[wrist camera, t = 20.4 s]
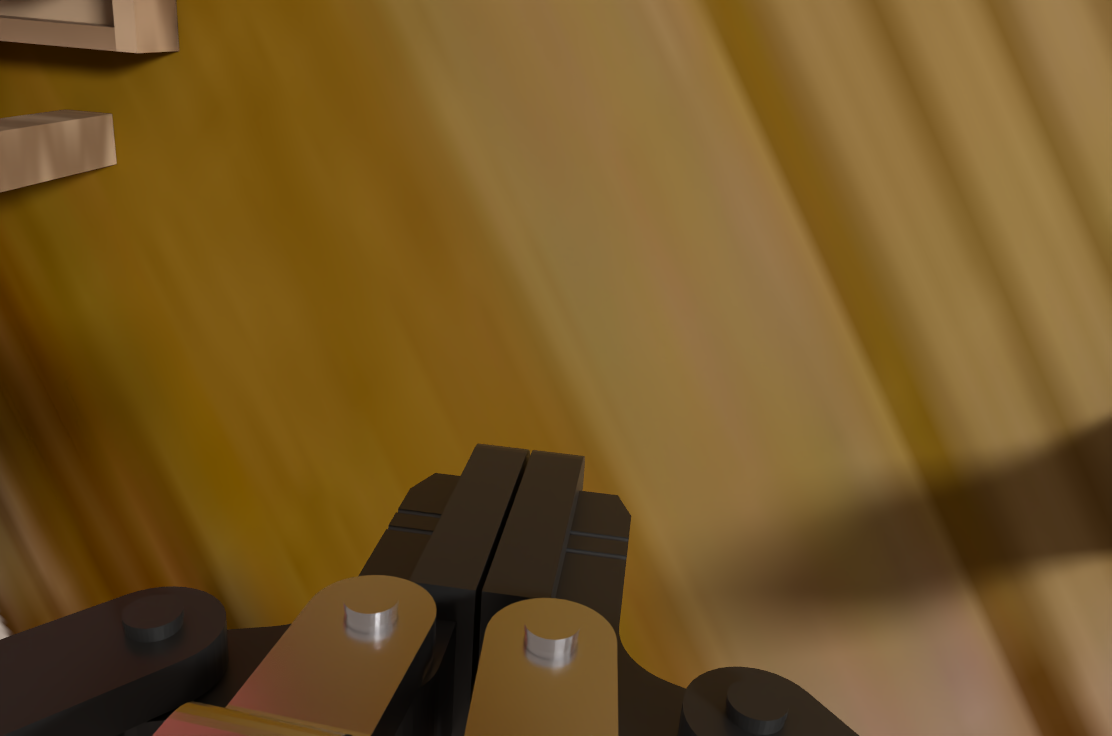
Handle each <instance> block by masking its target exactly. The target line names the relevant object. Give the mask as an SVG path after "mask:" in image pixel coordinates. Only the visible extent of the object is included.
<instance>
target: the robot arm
mask: <svg viewBox="0 0 1112 736" xmlns="http://www.w3.org/2000/svg"><path fill="white" fill-rule="evenodd" d="M584 464H585V457H584V456H578V455H570V454H562V453H553V452H545V451H537V450H533V451H532V453H531V455H530V451H529V450H527V449H519V448H510V447H502V446H494V445H485V444H477V445H476V447H475V448H474V450H473V453H472V455H471V457H470V459H469V461H468V463H467V465H466V467H465V469H464V471H463V473H462V475H461V476H455V475H447V474H439V473H435V474H433V475H431V476H430V477H428V478H427V479H425V480H423V481H422V482H420V483H419V484H417V485H415V486H414V487H412V488H410V490H409V492H408V493H407V495H406V497H405V498H404V500H403V502H402V504H401V505H400V507H399V509H398V513H396V514H395V515H394V517H393V519H392V520H391V522H390V524H389V528H388V529H386V531H385V532H384V534H383V536H382V537H381V539H380V541H379V542H378V544H377V546H376V547H375V549H374V551H373V553H372V554H371V556H370V558H369V559H368V561H367V563H366V564H365V566H364V568H363V569H362V571H361V573H360V574H359V576H358V577H352V578H348V579H345V580H341V581H339V582H336V583H334V584H331V585H329V586H328V587H326V588H324V589H322V590H321V591H320V592H318V593H317V594H316V595H315V596H314V597H313V598H312V599H311V600H310V601H309V603H308V604H307V605H306V606H305V608H304V609H303V610H302V611H301V613H300V614H299V615H298V617H297V618H296V619H295V620H294V622H293V623H292V624H288V625H281V626H272V627H259V628H245V629H231V630H227V623H226V612H225V609H224V606H223V605H222V604H221V602H220V601H219V600H218V599H216V598H215V597H214V596H212V595H210V594H208V593H206V592H204V591H200V590H197V589H192V588H187V587H159V588H151V589H146V590H141V591H137V592H134V593H131V594H127V595H124V596H122V597H119V598H116V599H113V600H110V601H108V602H105V603H102V604H99V605H96V606H94V607H91V608H88V609H85V610H82V611H79V612H77V613H74V614H71V615H68V616H65V617H63V618H60V619H57V620H54V621H51V622H49V623H46V624H43V625H40V626H37V627H35V628H32V629H29V630H26V631H23V632H20V633H18V634H15V635H12V636H9V637H6V638H4V639H1V640H0V736H859V735H858V734H856V733H855V732H854V731H853V730H852V729H851V728H849V727H848V726H847V725H846V724H845V723H843V722H842V721H841V720H840V719H839V718H838V717H836V716H835V715H834V714H833V713H832V712H830V711H829V710H828V709H827V708H826V707H824V706H823V705H822V704H821V703H820V702H819V701H817V700H816V699H815V698H814V697H813V696H811V695H810V694H809V693H808V692H807V691H805V690H804V689H802V688H801V687H800V686H798V685H797V684H795V683H793V682H792V681H790V680H788V679H786V678H784V677H781V676H779V675H777V674H774V673H771V672H768V671H764V670H760V669H755V668H748V667H725V668H718V669H715V670H711V671H708V672H706V673H704V674H702V675H700V676H698V677H697V678H696V679H694V680H693V681H692V682H691V683H690V684H689V686H688V687H687V689H685V688H682V687H680V686H677V685H675V684H672V683H669V682H667V681H665V680H663V679H660V678H658V677H656V676H654V675H653V674H651V673H649V672H648V671H646V670H645V669H643V668H642V667H641V666H639V665H638V664H637V663H636V662H635V661H634V660H633V659H632V658H631V657H630V656H629V654H628V653H627V652H626V650H625V649H624V647H623V645H622V643H621V640H620V636H619V622H620V613H621V604H622V594H623V585H624V576H625V567H626V558H627V549H628V540H629V530H630V521H631V515H630V514H629V512H628V511H627V509H626V507H625V506H624V504H623V503H622V501H621V500H620V498H619V497H618V495H610V494H602V493H594V492H586V491H582V489H583V478H584Z"/></svg>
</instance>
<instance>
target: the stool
mask: <svg viewBox="0 0 1112 736" xmlns="http://www.w3.org/2000/svg"><path fill="white" fill-rule="evenodd" d="M114 164H117V163H116V152H115V141H114V130H113V119H112V114H109V113H97V112H86V111H75V110H59V111H52V112H44V113H37V114H30V115H23V116H15V117H8V118H1V119H0V192H4V191H8V190H12V189H17V188H21V187H25V186H29V185H33V184H37V183H41V182H45V181H49V180H53V179H57V178H61V177H65V176H70V175H74V174H78V173H82V172H86V171H90V170H94V169H98V168H102V167H106V166H110V165H114Z"/></svg>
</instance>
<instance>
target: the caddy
mask: <svg viewBox="0 0 1112 736" xmlns="http://www.w3.org/2000/svg"><path fill="white" fill-rule="evenodd" d="M0 41H8V42H19V43H30V44H41V45H52V46H64V47H75V48H86V49H97V50H108V51H119V52H130V53H150V52H170V51H179V40H178V23H177V7H176V0H0Z"/></svg>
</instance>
